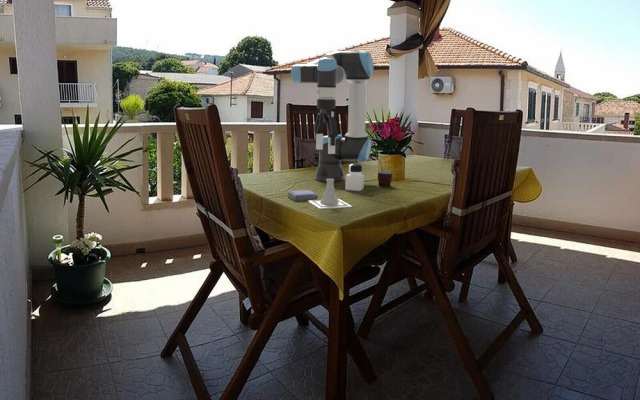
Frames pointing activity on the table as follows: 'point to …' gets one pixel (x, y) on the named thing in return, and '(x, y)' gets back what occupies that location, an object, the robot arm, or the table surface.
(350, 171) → the medicine bottle
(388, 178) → the mate gourd
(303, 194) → the pad
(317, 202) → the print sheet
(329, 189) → the flask
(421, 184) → the table surface
